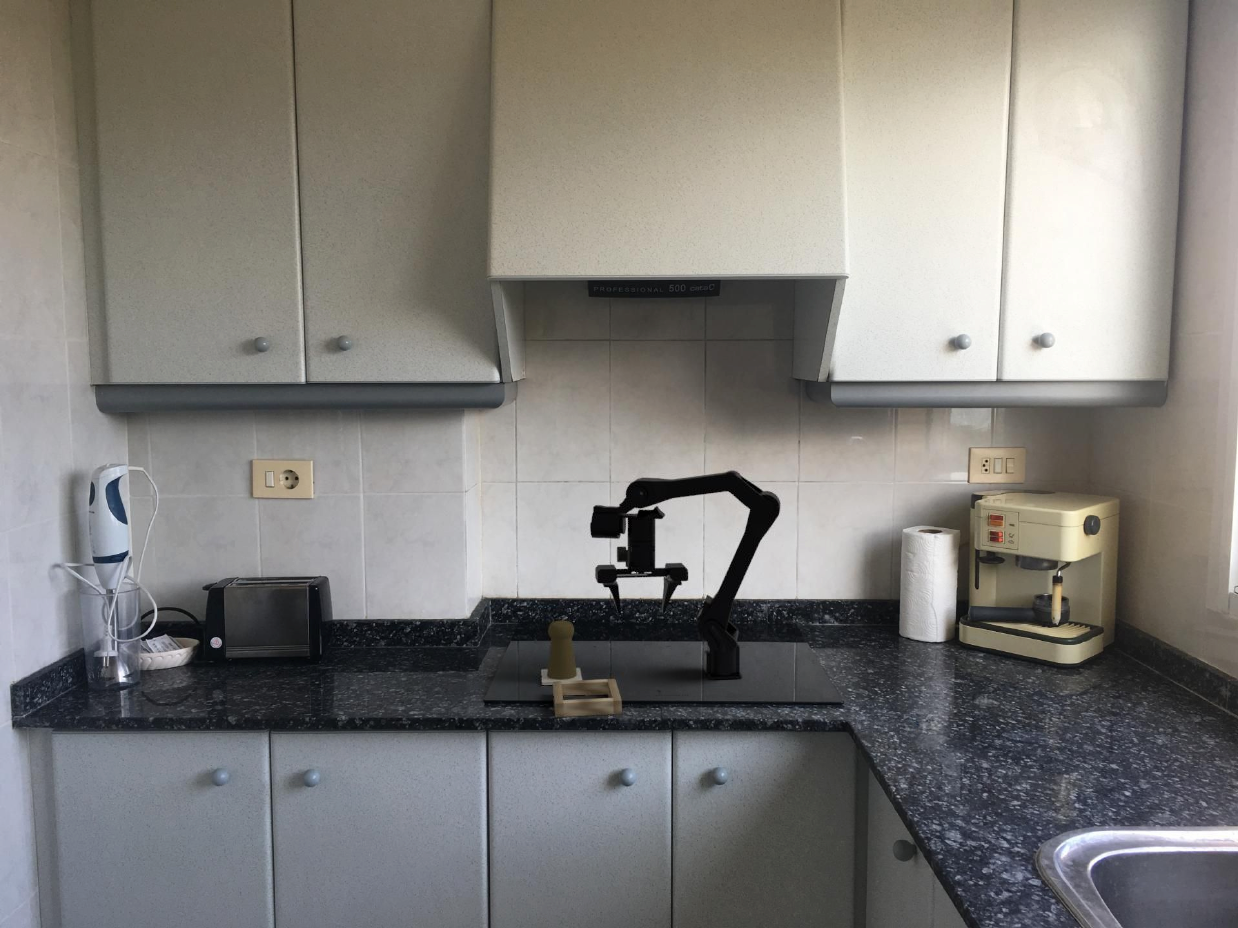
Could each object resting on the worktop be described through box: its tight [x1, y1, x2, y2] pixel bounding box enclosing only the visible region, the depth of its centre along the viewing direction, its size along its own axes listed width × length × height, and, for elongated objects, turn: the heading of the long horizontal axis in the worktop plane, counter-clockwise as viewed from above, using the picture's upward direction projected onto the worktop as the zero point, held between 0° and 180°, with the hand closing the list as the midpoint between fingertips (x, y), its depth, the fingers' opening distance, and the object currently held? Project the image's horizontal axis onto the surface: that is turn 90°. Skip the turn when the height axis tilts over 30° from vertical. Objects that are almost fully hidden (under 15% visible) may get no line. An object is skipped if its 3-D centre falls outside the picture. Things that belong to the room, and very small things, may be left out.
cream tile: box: [540, 667, 583, 686], centre depth 183 cm, size 8×8×1 cm
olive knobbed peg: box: [547, 620, 577, 680], centre depth 182 cm, size 6×6×11 cm
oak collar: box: [552, 678, 623, 718], centre depth 168 cm, size 12×12×2 cm
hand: (641, 613), depth 186 cm, fingers open, 9 cm apart
